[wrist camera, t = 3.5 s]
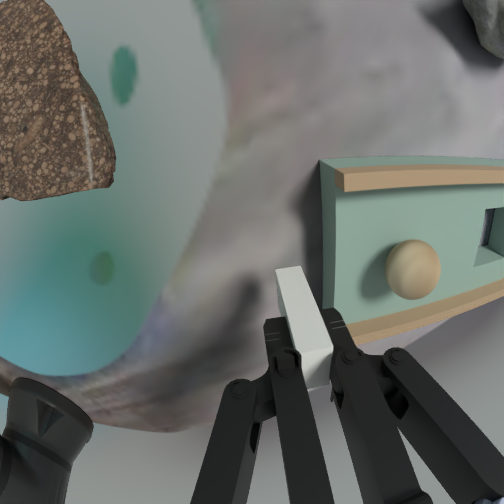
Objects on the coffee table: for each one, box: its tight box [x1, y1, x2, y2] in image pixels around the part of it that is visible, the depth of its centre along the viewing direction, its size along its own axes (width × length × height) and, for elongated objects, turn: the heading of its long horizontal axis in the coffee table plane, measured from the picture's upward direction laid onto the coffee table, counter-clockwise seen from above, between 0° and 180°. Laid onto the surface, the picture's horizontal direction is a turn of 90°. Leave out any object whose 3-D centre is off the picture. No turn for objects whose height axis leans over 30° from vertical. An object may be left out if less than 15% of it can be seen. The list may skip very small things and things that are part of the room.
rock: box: [0, 0, 116, 201], centre depth 10 cm, size 12×10×10 cm
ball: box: [385, 239, 441, 300], centre depth 17 cm, size 4×4×4 cm
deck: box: [319, 156, 504, 345], centre depth 19 cm, size 22×13×4 cm, turn 97°
